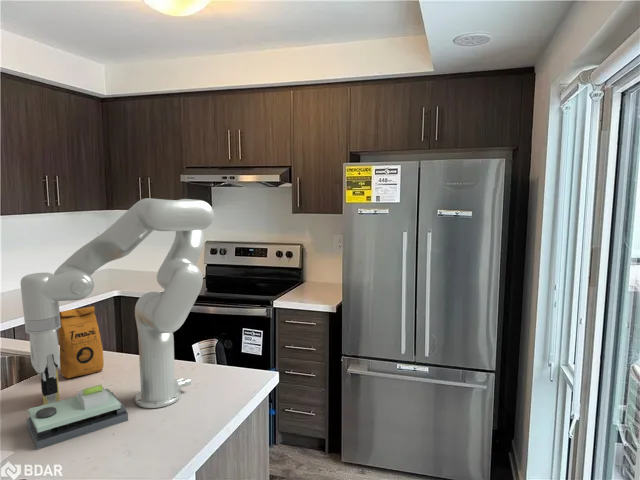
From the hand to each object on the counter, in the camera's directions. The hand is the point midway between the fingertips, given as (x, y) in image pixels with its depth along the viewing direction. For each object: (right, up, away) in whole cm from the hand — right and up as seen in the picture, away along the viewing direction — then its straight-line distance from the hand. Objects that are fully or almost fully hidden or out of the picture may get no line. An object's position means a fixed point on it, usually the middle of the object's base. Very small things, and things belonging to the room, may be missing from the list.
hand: (50, 393), depth 116 cm
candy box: (-11, -8, +18) cm, 23 cm away
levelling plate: (+4, -6, +5) cm, 9 cm away
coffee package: (-11, -6, +37) cm, 39 cm away
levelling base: (+4, -10, +5) cm, 12 cm away
